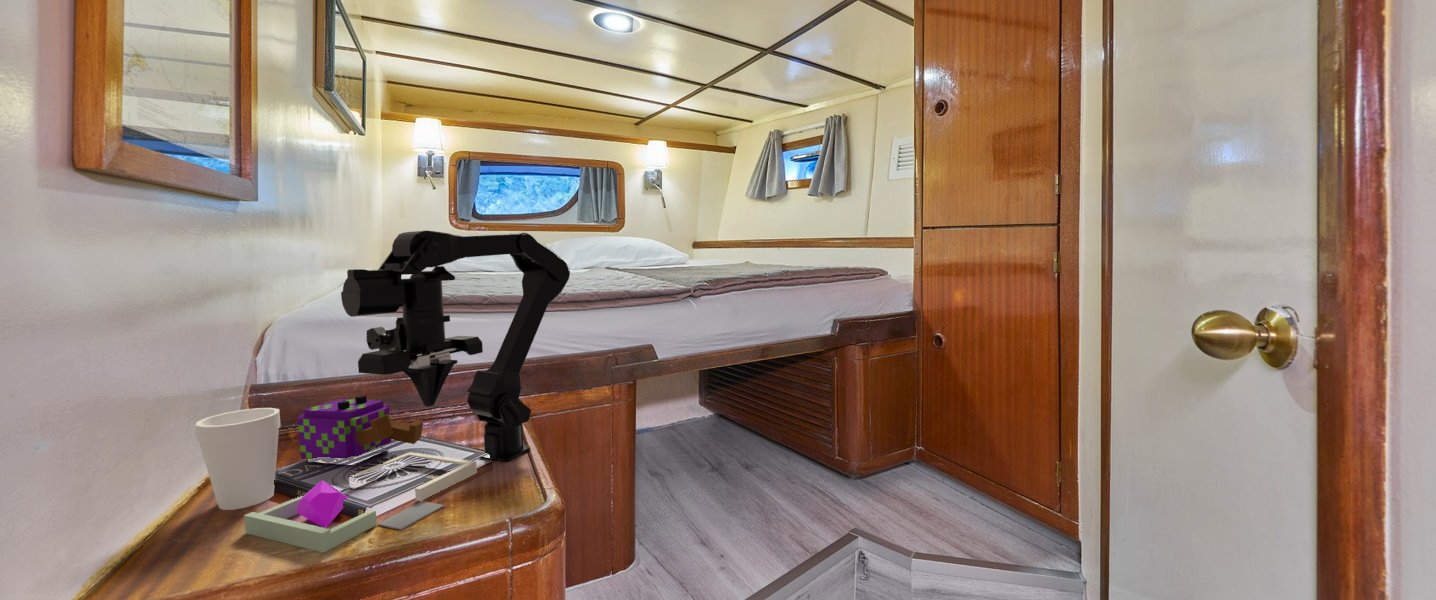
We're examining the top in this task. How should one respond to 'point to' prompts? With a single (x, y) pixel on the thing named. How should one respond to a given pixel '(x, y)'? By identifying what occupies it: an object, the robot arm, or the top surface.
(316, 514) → the crystal
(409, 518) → the mat
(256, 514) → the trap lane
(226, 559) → the top surface
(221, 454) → the foam cup
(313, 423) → the toy
